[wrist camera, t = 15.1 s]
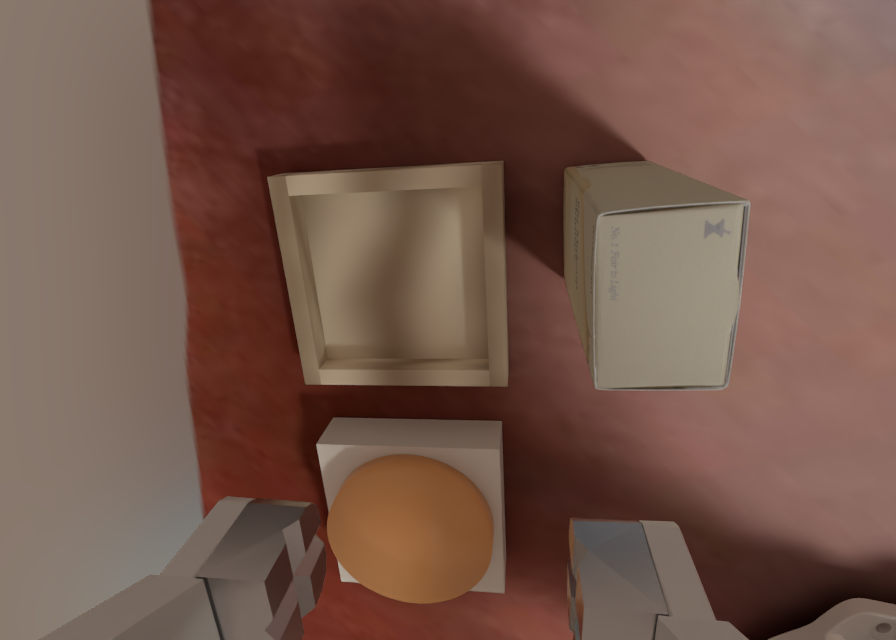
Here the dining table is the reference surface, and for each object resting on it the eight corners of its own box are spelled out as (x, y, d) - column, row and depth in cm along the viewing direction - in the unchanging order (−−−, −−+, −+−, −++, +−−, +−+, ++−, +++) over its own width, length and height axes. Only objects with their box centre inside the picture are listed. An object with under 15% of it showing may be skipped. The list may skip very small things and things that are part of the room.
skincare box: (562, 166, 26) (590, 202, 15) (654, 159, 25) (756, 191, 14) (563, 284, 28) (587, 394, 17) (648, 281, 28) (732, 393, 16)
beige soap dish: (503, 160, 26) (501, 163, 24) (508, 370, 31) (507, 386, 29) (284, 173, 28) (267, 177, 26) (317, 369, 32) (305, 384, 31)
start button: (490, 457, 29) (489, 475, 28) (496, 587, 33) (495, 609, 31) (325, 451, 31) (314, 468, 29) (347, 576, 34) (339, 597, 33)
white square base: (501, 420, 32) (499, 449, 29) (506, 556, 36) (504, 593, 33) (333, 417, 34) (315, 444, 31) (355, 547, 38) (341, 581, 35)
